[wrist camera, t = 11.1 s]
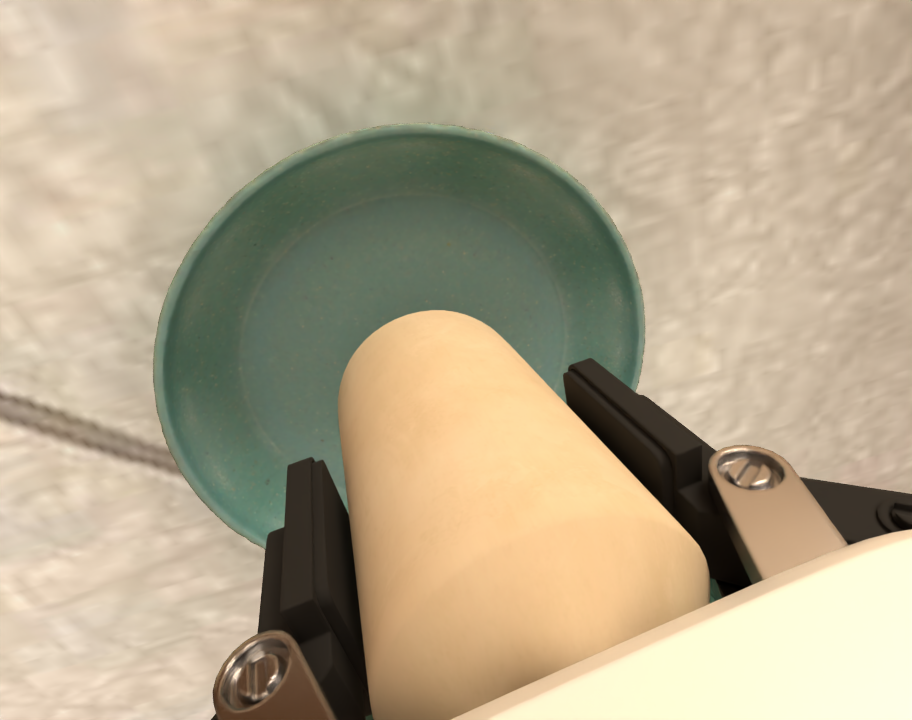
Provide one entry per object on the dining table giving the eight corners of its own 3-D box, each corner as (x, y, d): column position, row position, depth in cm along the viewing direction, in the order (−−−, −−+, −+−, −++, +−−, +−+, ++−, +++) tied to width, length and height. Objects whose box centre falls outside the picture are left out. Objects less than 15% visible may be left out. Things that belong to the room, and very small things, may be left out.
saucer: (576, 63, 15) (626, 51, 12) (620, 445, 22) (658, 482, 19) (65, 212, 13) (12, 230, 11) (291, 578, 20) (289, 637, 18)
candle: (355, 488, 16) (418, 941, 7) (317, 326, 13) (339, 713, 4) (518, 447, 17) (752, 795, 8) (511, 291, 14) (834, 545, 6)
